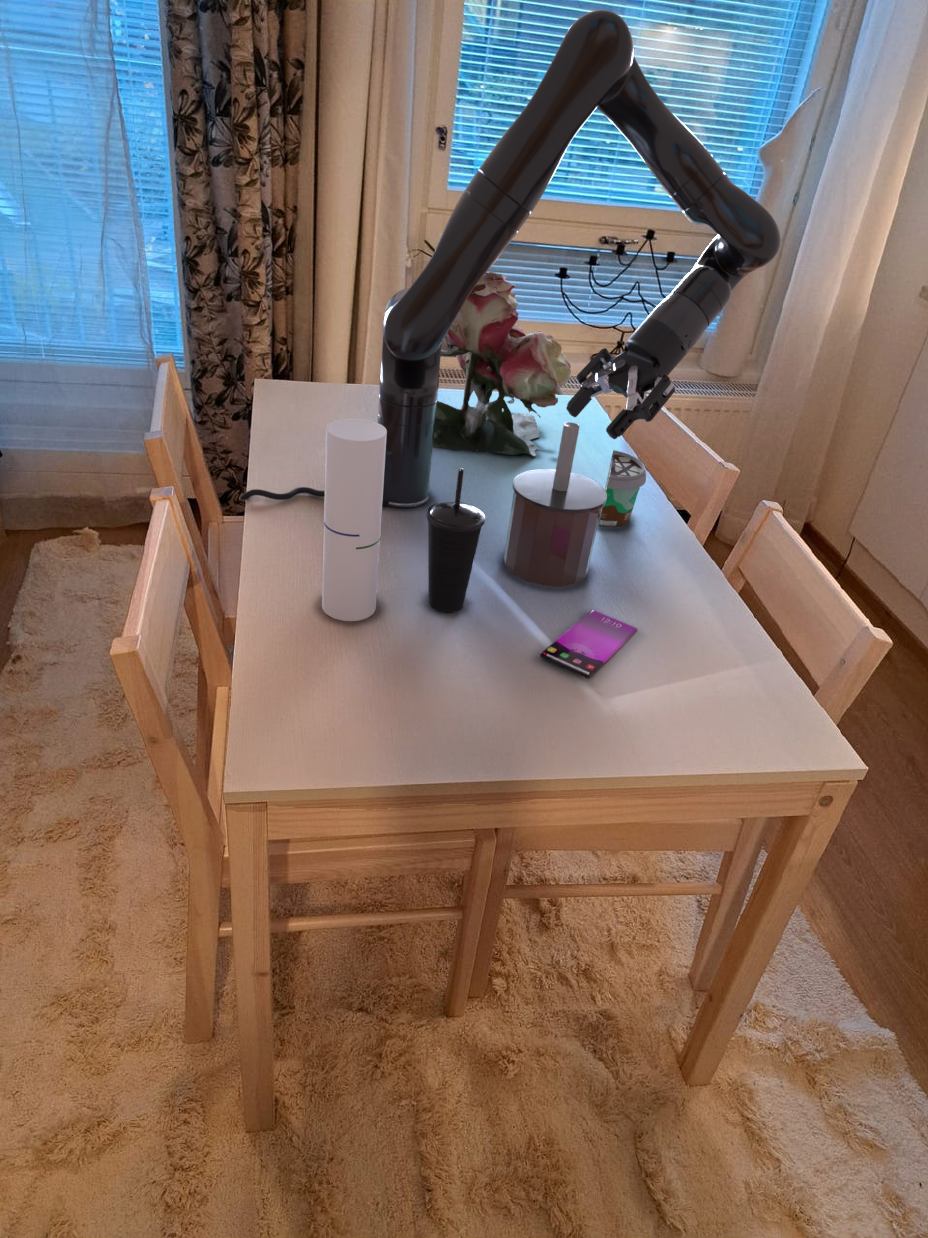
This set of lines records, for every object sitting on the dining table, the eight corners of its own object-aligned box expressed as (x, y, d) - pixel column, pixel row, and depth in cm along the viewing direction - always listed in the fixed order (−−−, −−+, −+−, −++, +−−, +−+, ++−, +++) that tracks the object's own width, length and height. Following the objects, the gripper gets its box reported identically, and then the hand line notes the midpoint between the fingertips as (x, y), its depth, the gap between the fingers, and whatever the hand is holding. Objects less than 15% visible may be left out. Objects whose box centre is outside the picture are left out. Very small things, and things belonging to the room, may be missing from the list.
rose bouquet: (561, 462, 168) (590, 301, 152) (409, 445, 167) (422, 281, 150) (551, 415, 190) (575, 270, 173) (416, 400, 188) (429, 252, 172)
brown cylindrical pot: (529, 595, 125) (543, 516, 118) (489, 553, 134) (500, 478, 127) (602, 582, 130) (619, 506, 124) (558, 543, 140) (572, 470, 133)
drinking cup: (433, 622, 116) (447, 485, 105) (409, 594, 122) (420, 459, 111) (483, 613, 120) (502, 478, 109) (457, 585, 125) (473, 454, 114)
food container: (634, 539, 144) (647, 483, 138) (597, 532, 144) (609, 476, 139) (636, 508, 154) (649, 455, 149) (601, 501, 155) (613, 448, 149)
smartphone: (537, 658, 112) (538, 653, 111) (590, 612, 123) (591, 607, 122) (587, 682, 109) (589, 676, 108) (637, 632, 120) (638, 627, 119)
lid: (542, 522, 118) (555, 447, 112) (495, 480, 128) (505, 410, 122) (624, 511, 124) (640, 440, 118) (573, 472, 134) (586, 404, 128)
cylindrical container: (323, 591, 120) (327, 416, 106) (375, 593, 121) (386, 420, 107) (320, 620, 114) (324, 438, 100) (375, 622, 115) (387, 442, 101)
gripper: (622, 303, 124) (546, 390, 124) (695, 332, 114) (613, 426, 114) (640, 338, 129) (568, 422, 129) (712, 369, 120) (634, 458, 120)
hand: (589, 423), depth 122 cm, fingers open, 8 cm apart
